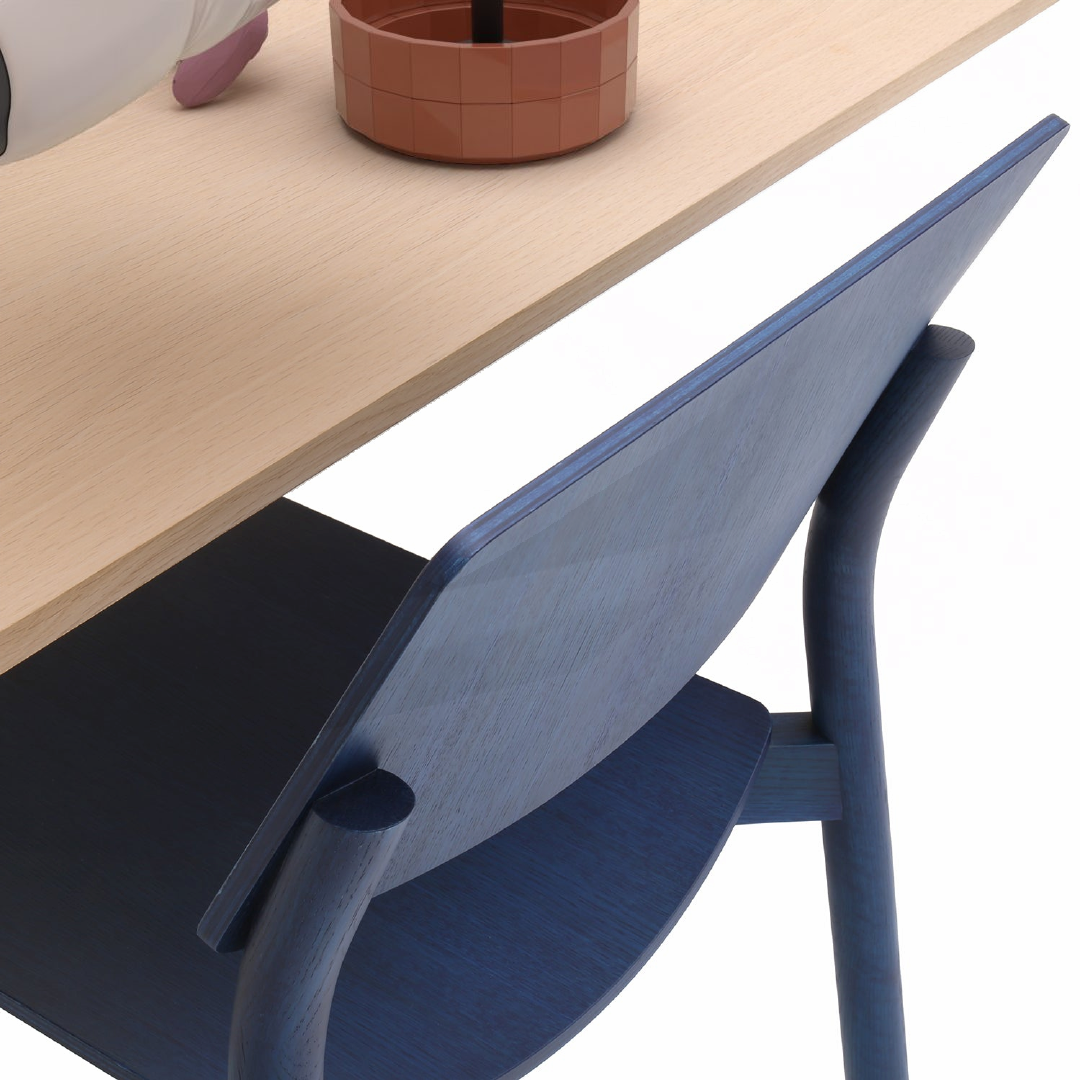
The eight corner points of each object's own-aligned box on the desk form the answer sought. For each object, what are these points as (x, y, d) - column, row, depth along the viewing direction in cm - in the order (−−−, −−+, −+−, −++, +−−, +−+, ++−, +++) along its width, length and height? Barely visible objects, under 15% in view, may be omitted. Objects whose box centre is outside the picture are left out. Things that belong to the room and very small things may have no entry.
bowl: (383, 188, 79) (376, 63, 75) (307, 77, 90) (298, -36, 87) (681, 146, 83) (687, 26, 80) (571, 45, 95) (573, -64, 91)
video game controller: (250, 128, 89) (296, 0, 86) (172, 105, 86) (217, -28, 83) (181, 70, 95) (222, -51, 93) (107, 47, 92) (146, -78, 90)
